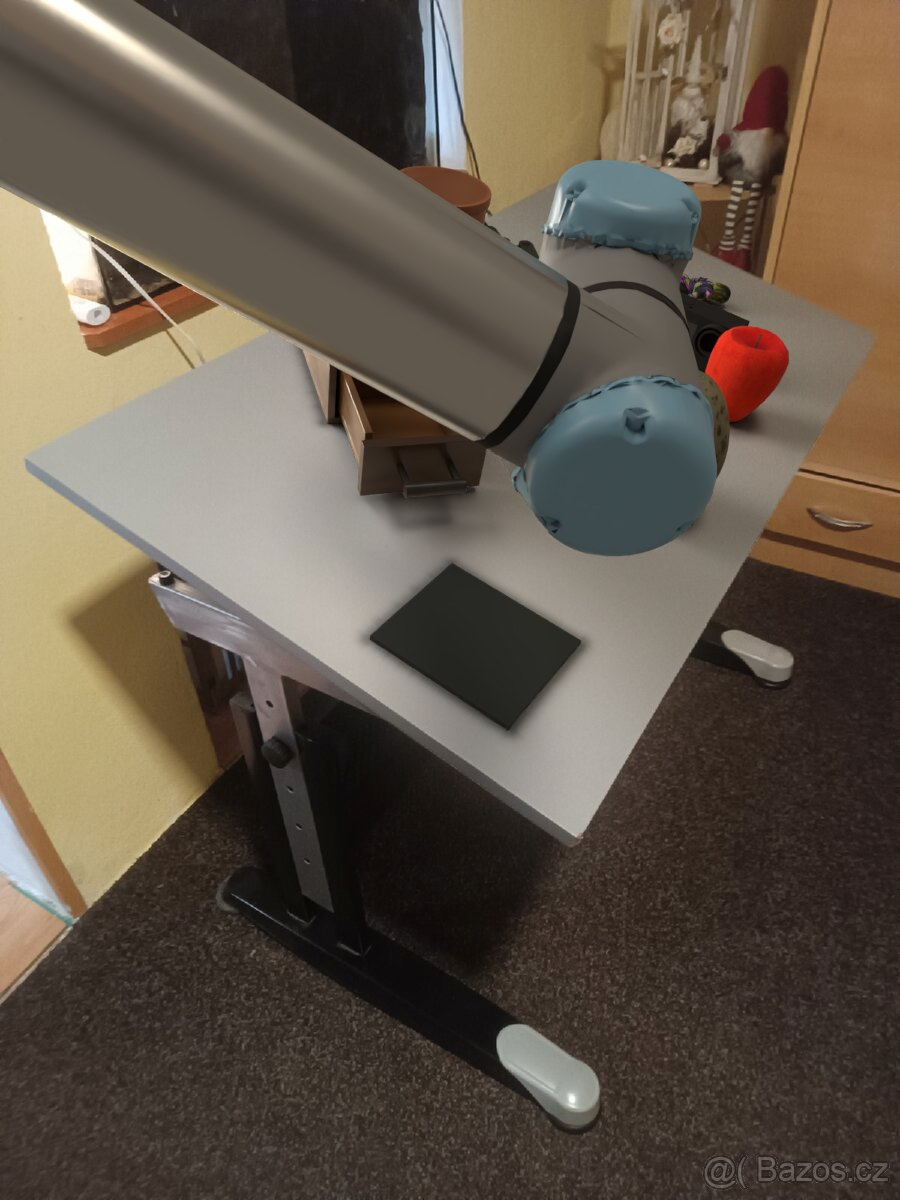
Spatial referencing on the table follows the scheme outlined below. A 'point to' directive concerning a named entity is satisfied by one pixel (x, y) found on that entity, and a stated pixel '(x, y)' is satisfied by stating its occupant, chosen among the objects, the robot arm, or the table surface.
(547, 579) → the table surface
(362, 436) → the drawer
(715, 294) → the character figure
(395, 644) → the mat
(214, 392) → the table surface
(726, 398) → the apple
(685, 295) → the digital camera
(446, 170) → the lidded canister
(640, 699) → the table surface
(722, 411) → the decorative egg
